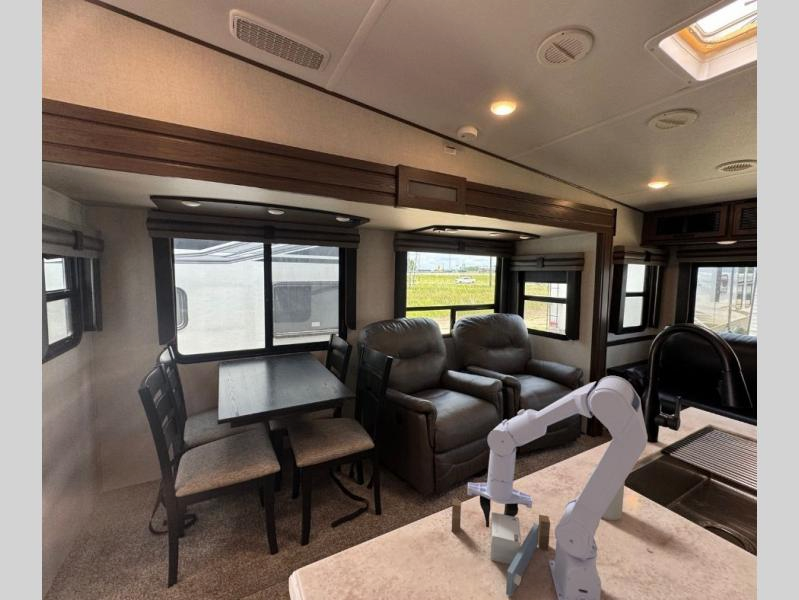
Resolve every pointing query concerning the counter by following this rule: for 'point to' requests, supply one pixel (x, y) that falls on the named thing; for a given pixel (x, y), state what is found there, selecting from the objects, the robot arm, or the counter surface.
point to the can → (614, 504)
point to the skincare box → (504, 537)
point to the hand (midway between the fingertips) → (495, 526)
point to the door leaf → (521, 560)
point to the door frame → (542, 532)
